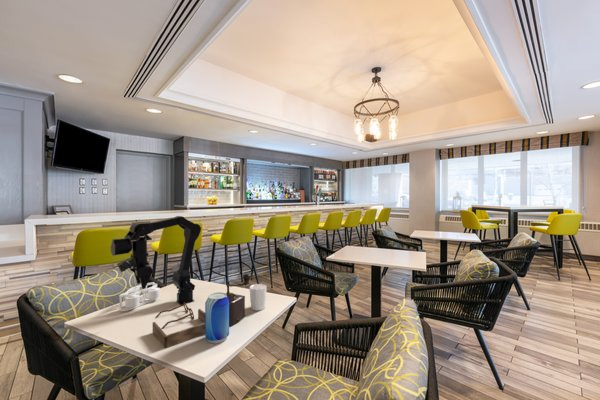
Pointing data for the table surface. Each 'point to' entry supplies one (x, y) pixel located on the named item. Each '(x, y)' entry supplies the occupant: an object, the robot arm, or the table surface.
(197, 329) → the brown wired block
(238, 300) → the coffee grinder
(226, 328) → the beer can
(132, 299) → the toilet paper holder
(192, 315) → the glasses
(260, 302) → the white cup
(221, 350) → the table surface
